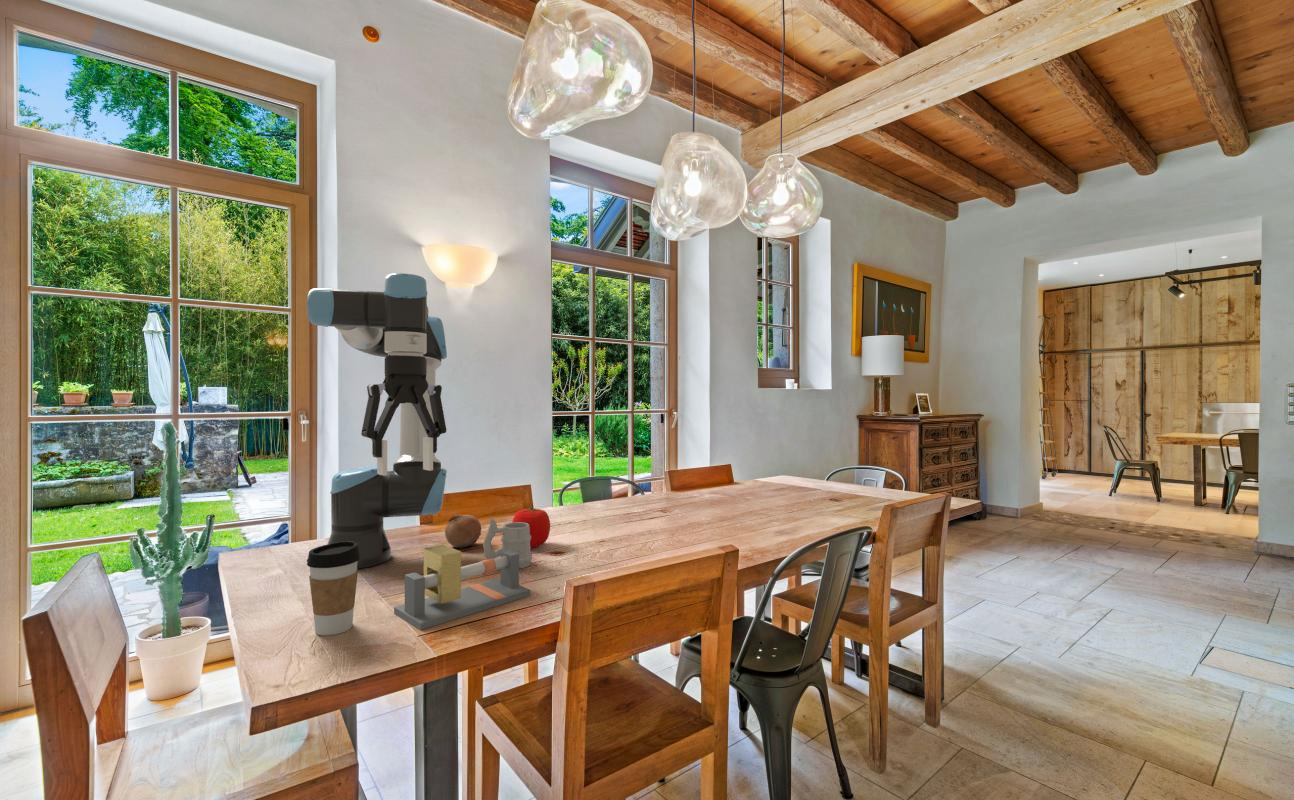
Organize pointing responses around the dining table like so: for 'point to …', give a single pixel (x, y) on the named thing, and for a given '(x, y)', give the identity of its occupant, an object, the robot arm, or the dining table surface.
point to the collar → (443, 572)
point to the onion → (463, 530)
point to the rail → (462, 592)
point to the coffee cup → (333, 586)
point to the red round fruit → (535, 524)
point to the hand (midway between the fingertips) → (405, 471)
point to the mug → (510, 541)
